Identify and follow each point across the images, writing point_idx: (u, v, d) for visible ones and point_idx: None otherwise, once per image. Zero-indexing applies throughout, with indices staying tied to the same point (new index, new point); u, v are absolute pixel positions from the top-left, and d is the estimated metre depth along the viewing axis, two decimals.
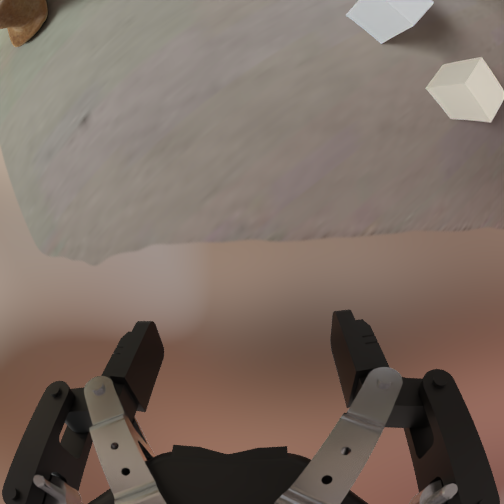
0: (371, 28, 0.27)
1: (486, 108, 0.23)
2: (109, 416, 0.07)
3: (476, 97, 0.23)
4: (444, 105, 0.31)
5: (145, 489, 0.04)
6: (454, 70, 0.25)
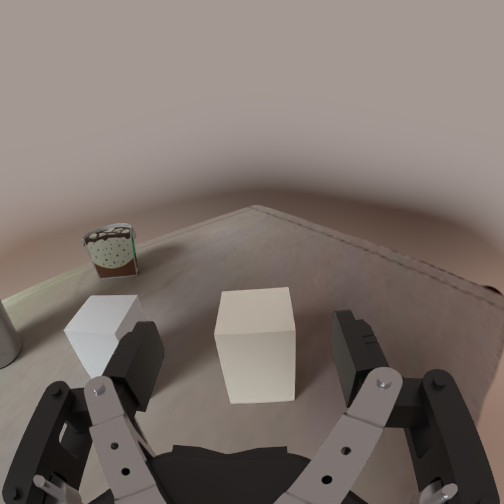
0: None
1: (272, 325, 0.23)
2: (109, 416, 0.07)
3: (245, 331, 0.23)
4: (264, 394, 0.26)
5: (145, 489, 0.04)
6: None
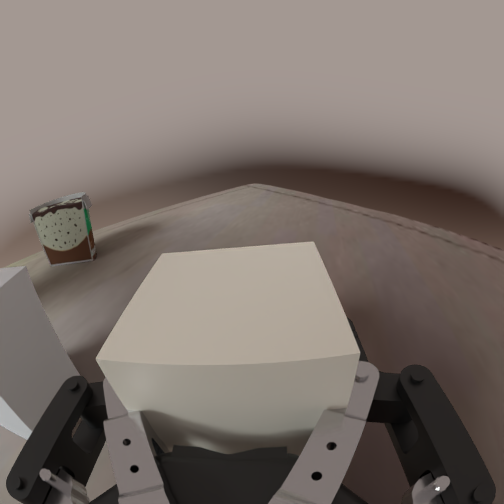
0: (15, 427, 0.10)
1: (279, 339, 0.07)
2: (126, 411, 0.07)
3: (188, 355, 0.06)
4: None
5: (151, 489, 0.04)
6: None
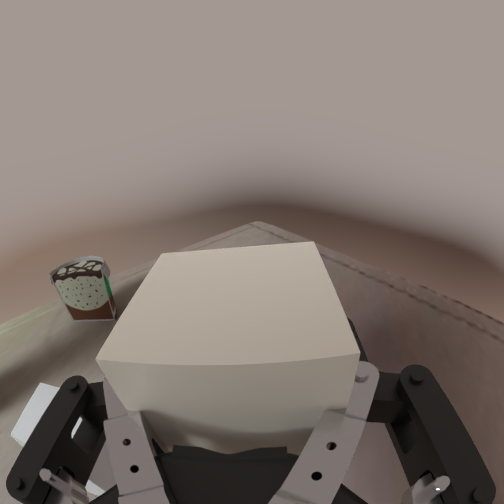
0: (94, 491, 0.15)
1: (278, 339, 0.07)
2: (125, 411, 0.07)
3: (187, 356, 0.06)
4: None
5: (151, 489, 0.04)
6: None
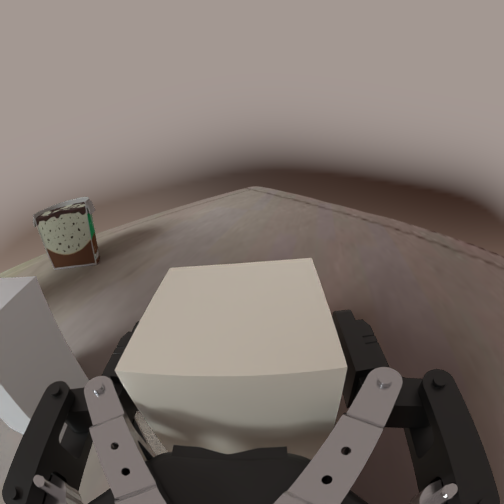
0: None
1: (277, 354, 0.08)
2: (109, 416, 0.07)
3: (198, 368, 0.07)
4: None
5: (145, 489, 0.04)
6: None
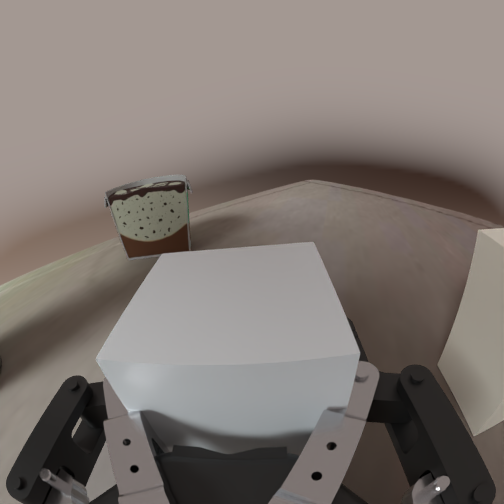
0: None
1: None
2: (126, 411, 0.07)
3: None
4: None
5: (151, 488, 0.04)
6: (484, 331, 0.11)
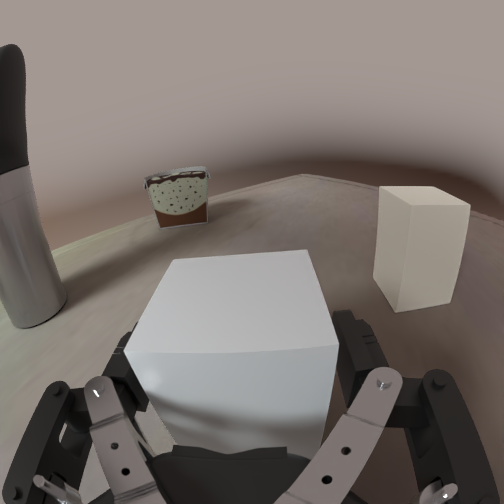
0: None
1: (451, 202, 0.19)
2: (109, 416, 0.07)
3: (435, 203, 0.19)
4: (430, 295, 0.22)
5: (145, 489, 0.04)
6: (387, 242, 0.24)
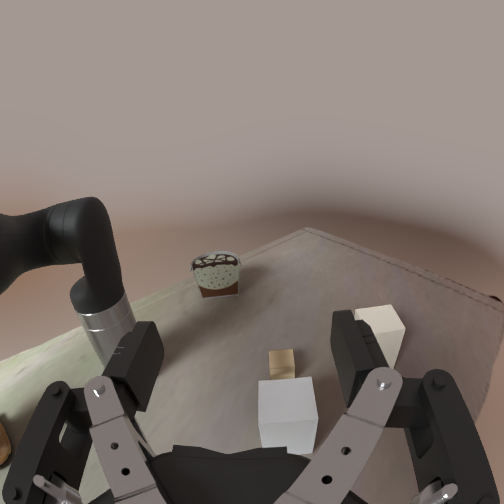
0: (293, 450, 0.30)
1: (393, 327, 0.38)
2: (109, 416, 0.07)
3: (382, 331, 0.38)
4: None
5: (145, 489, 0.04)
6: None
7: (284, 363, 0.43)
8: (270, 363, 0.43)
